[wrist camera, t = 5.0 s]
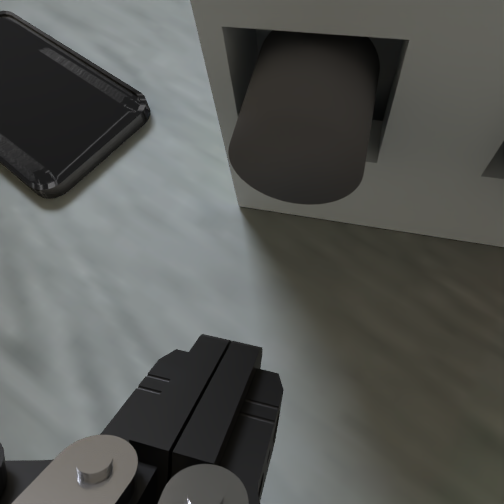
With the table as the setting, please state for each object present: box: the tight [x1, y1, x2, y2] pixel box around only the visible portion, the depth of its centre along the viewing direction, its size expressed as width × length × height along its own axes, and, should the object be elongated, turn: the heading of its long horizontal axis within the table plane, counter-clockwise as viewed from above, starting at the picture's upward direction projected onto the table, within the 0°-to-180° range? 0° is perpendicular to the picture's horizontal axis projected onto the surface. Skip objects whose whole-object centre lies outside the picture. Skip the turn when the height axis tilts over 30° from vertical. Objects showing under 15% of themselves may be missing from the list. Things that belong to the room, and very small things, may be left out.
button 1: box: [228, 30, 380, 205], centre depth 13 cm, size 4×4×4 cm
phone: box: [0, 11, 150, 198], centre depth 25 cm, size 8×1×15 cm
